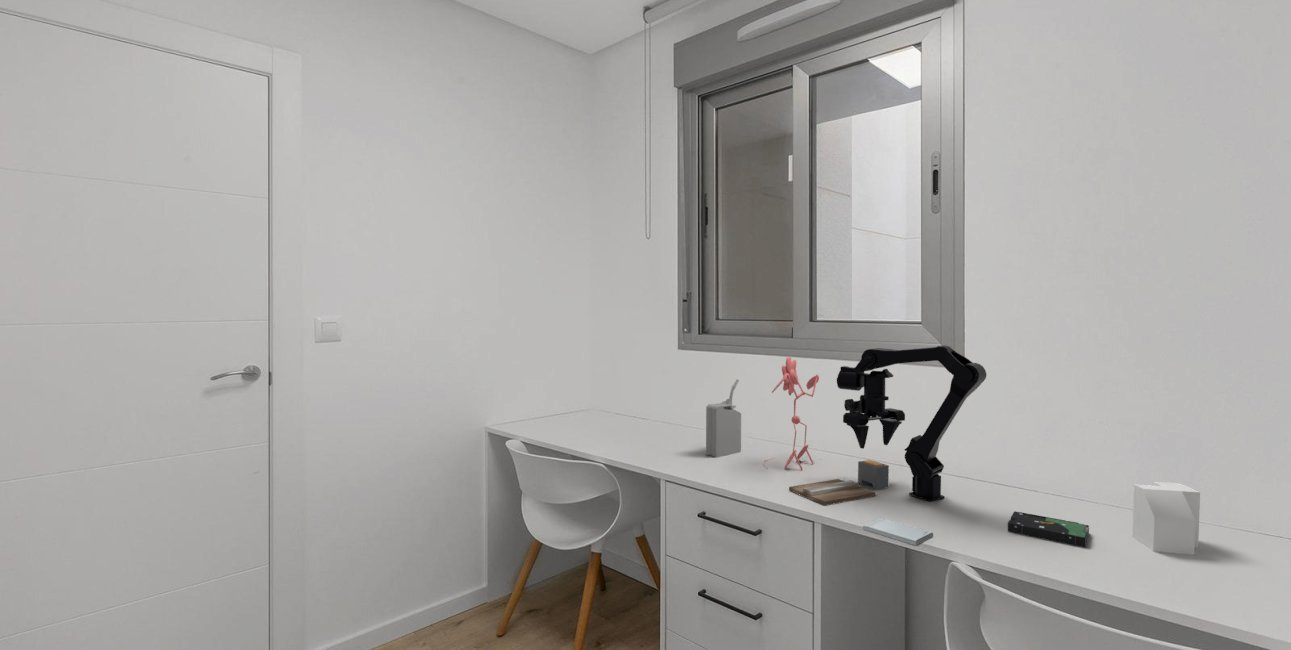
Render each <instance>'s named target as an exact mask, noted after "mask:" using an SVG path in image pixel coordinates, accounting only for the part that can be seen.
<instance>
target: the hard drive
mask: <svg viewBox="0 0 1291 650" xmlns="http://www.w3.org/2000/svg"><path fill="white" fill-rule="evenodd" d="M862 530H864V531H867V532H871V533H874V534H877V535H880V536H884V537H887V538H890V539H894V540H897V541H900V542H902V543H906V544H909V545H912V546H918V545H919V544H922V543H923V542H926V541H927V540H929V539H930V538H932V537H934V532H932V531H928V530H924V529H921V528H918V527H914V526H911V525H907V524H904V523H901V522H897V521H894V520H890V519H886V518H883V517H880V518H876V519H875V520H872V521H870V522H867V523H865V524H863V526H862Z"/></svg>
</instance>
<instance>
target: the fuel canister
mask: <svg viewBox="0 0 1291 650" xmlns="http://www.w3.org/2000/svg"><path fill="white" fill-rule="evenodd" d="M739 382H740V380H739V379H735V382H734V383H733V385H732V386H731V390H730V393H729V397H728V398H727V399H726V400H724V401H721V402H718V403H711V404H707V405H706V409H705V412H706V415H705V419H706V421H705V455H706V456H711V457H715V458H720V457H725V456H728V455H729V456H730V455H732V454H733V455H734V454H737V453H741V452H742V413H741V412H740V411H737V410H736V409H735V408H736V407H737V406H736V405H733V395H734V391H735V389H736V388H737V385H738V384H739Z"/></svg>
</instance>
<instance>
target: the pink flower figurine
mask: <svg viewBox="0 0 1291 650" xmlns="http://www.w3.org/2000/svg"><path fill="white" fill-rule="evenodd" d="M796 368H797V360H796V359H792V357H791V356H788V357H786V358H785V365H781V372H782V378H781V379H780V381H779V382H778V384H777V385H776V386H775V387H774V389H773V390H772V391H771V394H773V393H774V392H775V391H776V390H777V389H778V387H780V386H781V384H783V387H782V389H783V391H784V392H786V391H787V390H788V392H787V393H788V396H792V394H793V393H794V395H795V398H794V400H793V416H792V417H791V423H792V424H793V428H794V429H793V430H794V438H793V440H794V441H793V447H792V448H793V449H792V453H791V454H790V456H789V457H788V459H787V461H786V464H785V466H784V469H786V468H787V467H788V466H789V465H790V464H791V462H792V461H793V459H794V457H795V459H796V461H797V464H798V466H799V469H800V470H801V471H803V466H802V464H801V462H800V459H801V457H802V456H803V455H804V454H805V453H806V454H807V456H808V459H809V460H810V462H811V465H813V464H815V463H814V461H813V459H812V457H811V454H810V452H809V450H808V449H809V444H807V443H806V441H807V440H806V439H807V429H808V428H807V427H808V426H807V424H806V423H803V422H801V418H800V416H798V415H796V404H797V400H798V399H800V398H801V397H802V396H805V395H806V396H809V397H814V395H815V389H816V386H817V383H818V382H819V379H820V376H819V375H818V374H816V375H814V376H812V377H811V378H810V379H809V380H808V381H807V383H806V388H807V390H810V389H812V388H813V389H812V393H808V392H805V391H804V390H803V388H802V386H801V384H800V382H799V378H798V374H797V370H796ZM797 385H798V387H799V389H800V391H801V392H800V393H799V394H797V391H796V389H795V386H797ZM798 424H802V425H803V426H804V427H805V429H804V430H805V431H804V444H803V445H804V446H802V448H801V450H800V451H799V453H798V454H796V453H797V450H796V449H795V446H796V439H797V438H796V437H797V429H796V425H798ZM774 458H775V457H773V458H769V459H767V460H764V463H765V462H768V461H770V460H773V459H774ZM820 460H822V461H823V459H822V458H820ZM764 463H762V465H763V466H765V465H764ZM766 469H767V470H768V467H766Z"/></svg>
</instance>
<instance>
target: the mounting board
mask: <svg viewBox="0 0 1291 650" xmlns="http://www.w3.org/2000/svg"><path fill="white" fill-rule="evenodd" d="M860 485H861V484H859V483H858V482H857V481H853V480H851V479H850V480H843V479H839V478H836V479H830V480H829V479H828V480H823V481H817V482H811V483H805V484H798V485H793V486H788V491H789V490H790V492H792V493H794V492H795V493H794V494H796V493H798V494H797V495H799V494H800V495H799V496H801V495H802V496H801V497H803V496H804V497H803V498H806V497H807V498H806V499H808V498H809V499H808V500H810V499H812V500H811V501H813V500H814V501H813V502H815V501H816V503H817V502H818V504H820V503H821V505H822V504H823V506H828V505H827V504H829V505H834V504H833V503H835V504H839V502H840V503H844V502H843V501H846V502H850V501H849V500H851V501H854V500H855V499H856V500H860V498H862V499H866V497H867V498H872V497H876V495H877V494H876V491H873V490H871V489H867V488H864V487H862V486H860ZM871 496H872V497H871Z"/></svg>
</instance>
